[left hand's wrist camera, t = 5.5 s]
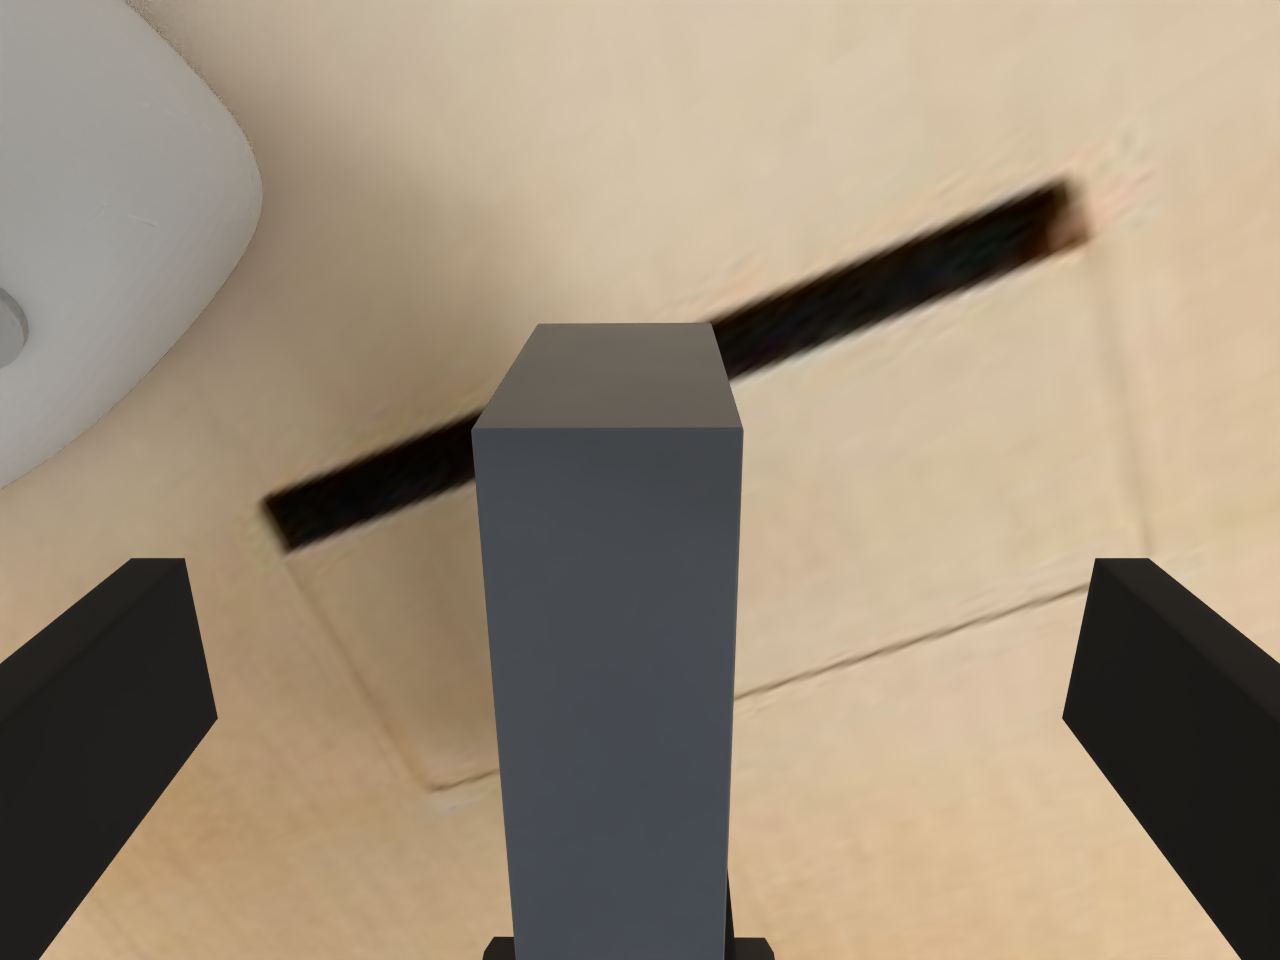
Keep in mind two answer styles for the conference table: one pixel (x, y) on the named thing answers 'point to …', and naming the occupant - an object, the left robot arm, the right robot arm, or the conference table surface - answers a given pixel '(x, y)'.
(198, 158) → the projector
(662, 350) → the bar
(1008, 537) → the conference table surface
